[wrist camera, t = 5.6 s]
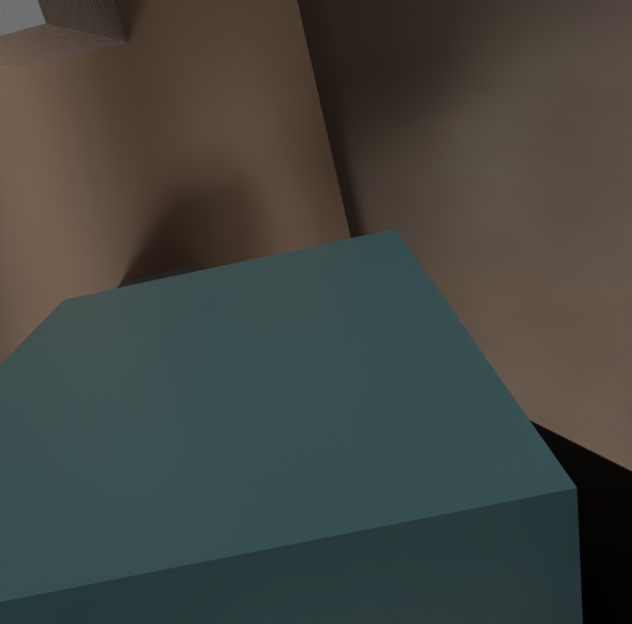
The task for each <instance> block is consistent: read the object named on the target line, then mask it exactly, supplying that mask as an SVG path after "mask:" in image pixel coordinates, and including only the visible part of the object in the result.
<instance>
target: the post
mask: <svg viewBox="0 0 632 624" xmlns="http://www.w3.org/2000/svg"><path fill="white" fill-rule="evenodd" d="M124 43H128V40H127V37H126V34H125V31H124V28H123V25H122V22H121V19H120V16H119V13H118V10H117V7H116V4H115V1H114V0H0V65H6V66H28V67H38V66H42V65H46V64H49V63H53V62H57V61H61V60H64V59H68V58H72V57H76V56H79V55H83V54H87V53H91V52H94V51H98V50H102V49H106V48H109V47H113V46H117V45H121V44H124Z"/></svg>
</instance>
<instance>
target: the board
mask: <svg viewBox="0 0 632 624" xmlns="http://www.w3.org/2000/svg"><path fill="white" fill-rule="evenodd" d="M114 1H115V4H116V7H117V10H118V13H119V16H120V19H121V22H122V25H123V28H124V31H125V34H126V37H127V40H128V43H124V44H121V45H117V46H113V47H109V48H106V49H102V50H98V51H94V52H91V53H87V54H83V55H79V56H76V57H72V58H68V59H64V60H61V61H57V62H53V63H49V64H46V65H42V66H38V67H28V66H6V65H0V364H2V363H3V362H4V361H5V360H6V359H7V358H8V356H9V355H10V354H11V353H12V352H13V351H14V350H15V349H16V348H17V347H18V346H19V345H20V344H21V343H22V342H23V341H24V340H25V339H26V338H27V337H28V336H29V335H30V334H31V333H32V332H33V331H34V330H35V329H36V328H37V327H38V325H39V324H40V323H41V322H42V321H43V320H44V319H45V318H46V317H47V316H48V315H49V314H50V313H51V312H52V311H53V310H54V309H55V308H56V307H57V306H58V305H59V304H60V303H61V302H62V301H63V300H64V299H69V298H74V297H78V296H83V295H88V294H93V293H97V292H102V291H107V290H111V289H116V288H117V287H118V286H119V284H120V283H121V282H125V281H129V280H133V279H137V278H141V277H145V276H149V275H153V274H157V273H161V272H165V271H169V270H173V269H177V268H181V267H185V266H189V265H193V264H197V263H201V264H202V267H203V270H205V269H209V268H214V267H219V266H223V265H228V264H233V263H237V262H242V261H247V260H252V259H256V258H261V257H266V256H270V255H275V254H280V253H284V252H289V251H294V250H298V249H303V248H308V247H312V246H317V245H322V244H326V243H331V242H336V241H340V240H345V239H350V238H351V236H350V232H349V227H348V223H347V218H346V214H345V210H344V205H343V201H342V196H341V192H340V187H339V183H338V179H337V174H336V170H335V165H334V161H333V156H332V152H331V148H330V143H329V139H328V134H327V130H326V125H325V121H324V117H323V112H322V108H321V103H320V99H319V94H318V90H317V86H316V81H315V77H314V72H313V68H312V63H311V59H310V54H309V50H308V46H307V41H306V37H305V32H304V28H303V23H302V19H301V15H300V10H299V6H298V1H297V0H114Z"/></svg>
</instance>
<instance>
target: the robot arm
mask: <svg viewBox="0 0 632 624" xmlns="http://www.w3.org/2000/svg"><path fill="white" fill-rule="evenodd" d="M530 422H531V423H532V425H533V426H534V427H535V429H536V430H537V432H538V433H539V435H540V436H541V437H542V439H543V440H544V442H545V443H546V445H547V446H548V447H549V449H550V450H551V452H552V453H553V455H554V456H555V457H556V459H557V460H558V462H559V463H560V464H561V466H562V467H563V469H564V470H565V472H566V473H567V474H568V476H569V477H570V479H571V480H572V482H573V483H574V484H575V486H576V487H577V501H578V524H579V547H580V571H581V594H582V617H583V624H632V471H630V470H628V469H626V468H624V467H622V466H620V465H618V464H616V463H614V462H612V461H610V460H608V459H606V458H604V457H602V456H600V455H598V454H596V453H594V452H592V451H590V450H588V449H586V448H584V447H582V446H580V445H578V444H576V443H574V442H572V441H570V440H568V439H566V438H564V437H562V436H560V435H558V434H556V433H554V432H552V431H550V430H548V429H546V428H544V427H542V426H540V425H538V424H536V423H534V422H532V421H530Z"/></svg>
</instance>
